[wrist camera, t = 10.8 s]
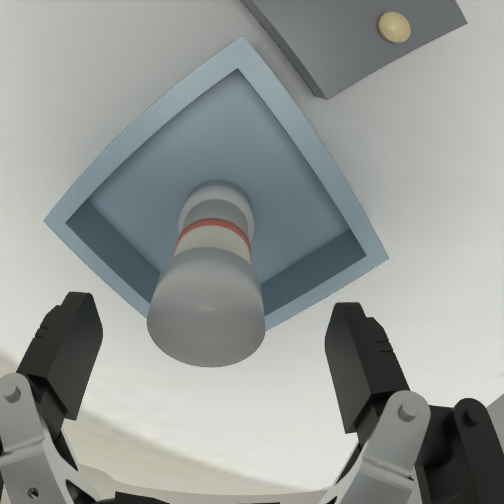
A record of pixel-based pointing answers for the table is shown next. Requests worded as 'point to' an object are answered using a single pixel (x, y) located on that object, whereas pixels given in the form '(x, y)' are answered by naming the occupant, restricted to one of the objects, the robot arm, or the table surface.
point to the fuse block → (351, 34)
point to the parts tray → (229, 169)
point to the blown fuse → (210, 282)
